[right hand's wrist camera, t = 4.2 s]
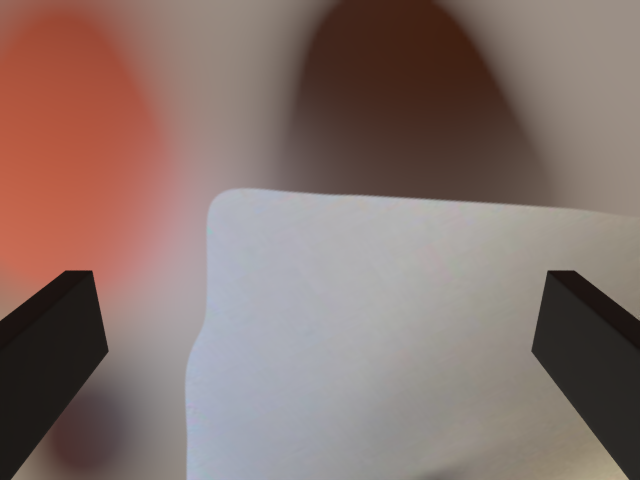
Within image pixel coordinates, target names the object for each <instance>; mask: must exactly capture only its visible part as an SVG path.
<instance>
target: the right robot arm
mask: <svg viewBox="0 0 640 480" xmlns="http://www.w3.org/2000/svg"><path fill="white" fill-rule="evenodd" d="M531 352H532V353H533V354H534V355H535V357H536V358H537V359H538V361H539V362H540V363H541V365H542V366H543V367H544V369H545V370H546V371H547V373H548V374H549V375H550V376H551V378H552V379H553V380H554V382H555V383H556V384H557V386H558V387H559V388H560V390H561V391H562V392H563V394H564V395H565V396H566V397H567V399H568V400H569V401H570V403H571V404H572V405H573V407H574V408H575V409H576V411H577V412H578V413H579V414H580V416H581V417H582V418H583V420H584V421H585V422H586V424H587V425H588V426H589V428H590V429H591V430H592V432H593V433H594V434H595V435H596V437H597V438H598V439H599V441H600V442H601V443H602V445H603V446H604V447H605V449H606V450H607V451H608V453H609V454H610V455H611V456H612V458H613V459H614V460H615V462H616V463H617V464H618V466H619V467H620V468H621V470H622V471H623V472H624V474H625V475H626V476H627V477H628V479H629V480H640V321H639V320H638V319H636V318H635V317H634V316H633V315H631V314H630V313H629V312H627V311H626V310H625V309H624V308H622V307H621V306H620V305H618V304H617V303H616V302H614V301H613V300H612V299H611V298H609V297H608V296H607V295H605V294H604V293H603V292H602V291H600V290H599V289H598V288H596V287H595V286H594V285H592V284H591V283H590V282H589V281H587V280H586V279H585V278H583V277H582V276H581V275H579V274H578V273H577V272H576V271H548V272H547V277H546V282H545V287H544V292H543V297H542V301H541V306H540V311H539V316H538V321H537V326H536V331H535V336H534V341H533V346H532V351H531ZM107 353H108V346H107V341H106V336H105V331H104V326H103V321H102V316H101V311H100V306H99V302H98V297H97V292H96V287H95V282H94V277H93V272H92V271H64V272H63V273H62V274H61V275H59V276H58V277H57V278H55V279H54V280H53V281H51V282H50V283H49V284H48V285H46V286H45V287H44V288H42V289H41V290H40V291H39V292H37V293H36V294H35V295H33V296H32V297H31V298H29V299H28V300H27V301H26V302H24V303H23V304H22V305H20V306H19V307H18V308H16V309H15V310H14V311H13V312H11V313H10V314H9V315H7V316H6V317H5V318H4V319H2V320H1V321H0V480H11V479H12V477H13V476H14V475H15V474H16V472H17V471H18V470H19V468H20V467H21V466H22V464H23V463H24V462H25V460H26V459H27V458H28V456H29V455H30V454H31V453H32V451H33V450H34V449H35V447H36V446H37V445H38V443H39V442H40V441H41V439H42V438H43V437H44V435H45V434H46V433H47V431H48V430H49V429H50V428H51V426H52V425H53V424H54V422H55V421H56V420H57V418H58V417H59V416H60V414H61V413H62V412H63V411H64V409H65V408H66V407H67V405H68V404H69V403H70V401H71V400H72V399H73V397H74V396H75V395H76V394H77V392H78V391H79V390H80V388H81V387H82V386H83V384H84V383H85V382H86V380H87V379H88V378H89V376H90V375H91V374H92V373H93V371H94V370H95V369H96V367H97V366H98V365H99V363H100V362H101V361H102V359H103V358H104V357H105V355H106V354H107Z"/></svg>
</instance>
